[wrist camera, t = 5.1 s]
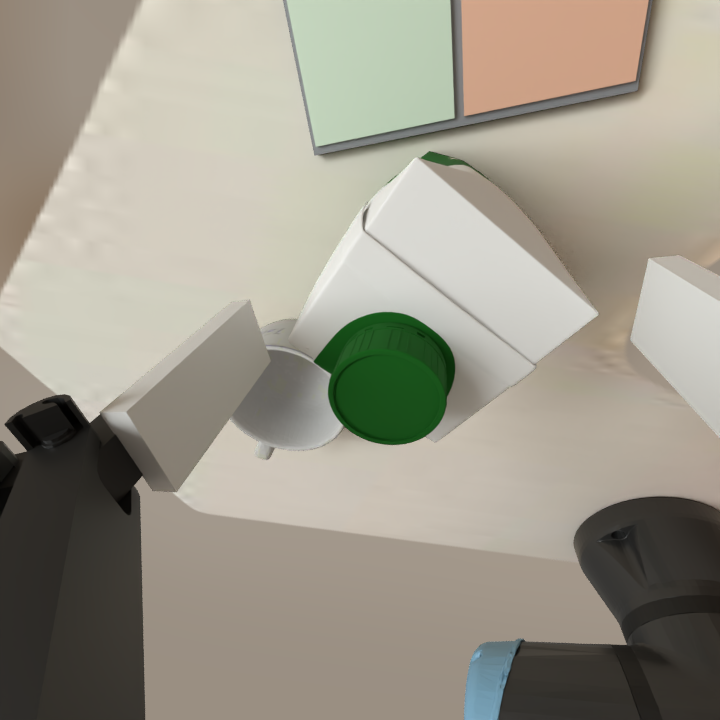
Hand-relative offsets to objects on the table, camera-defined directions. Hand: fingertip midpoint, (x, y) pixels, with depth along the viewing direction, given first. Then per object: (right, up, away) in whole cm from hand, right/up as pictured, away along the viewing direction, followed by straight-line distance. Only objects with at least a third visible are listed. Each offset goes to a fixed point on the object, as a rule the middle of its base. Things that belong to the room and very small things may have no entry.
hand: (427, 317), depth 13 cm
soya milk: (+3, +9, +15) cm, 18 cm away
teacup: (-8, -2, +24) cm, 26 cm away
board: (+3, +19, +9) cm, 21 cm away
